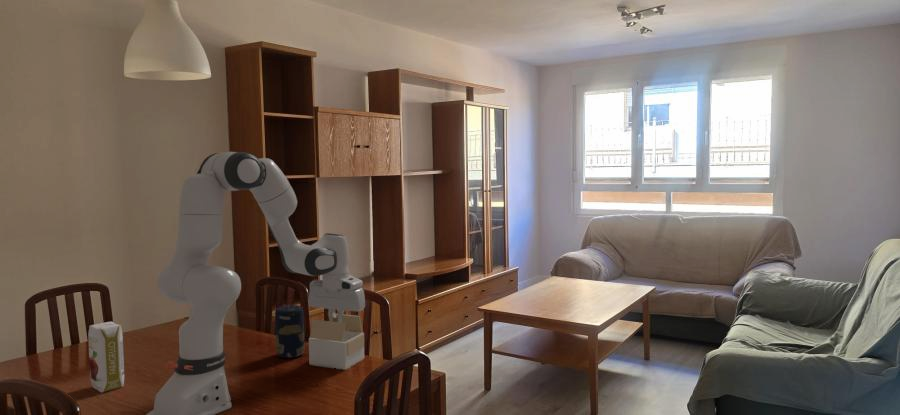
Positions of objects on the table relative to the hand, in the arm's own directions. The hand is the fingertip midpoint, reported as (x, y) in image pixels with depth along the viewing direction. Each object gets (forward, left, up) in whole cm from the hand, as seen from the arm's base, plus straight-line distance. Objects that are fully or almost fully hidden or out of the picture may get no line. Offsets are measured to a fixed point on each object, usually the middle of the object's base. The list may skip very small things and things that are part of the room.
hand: (336, 321), depth 195 cm
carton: (0, 0, -14) cm, 14 cm away
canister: (0, +19, -14) cm, 23 cm away
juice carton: (-44, +52, -14) cm, 70 cm away
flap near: (-5, 0, -2) cm, 6 cm away
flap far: (+5, 0, -2) cm, 5 cm away
